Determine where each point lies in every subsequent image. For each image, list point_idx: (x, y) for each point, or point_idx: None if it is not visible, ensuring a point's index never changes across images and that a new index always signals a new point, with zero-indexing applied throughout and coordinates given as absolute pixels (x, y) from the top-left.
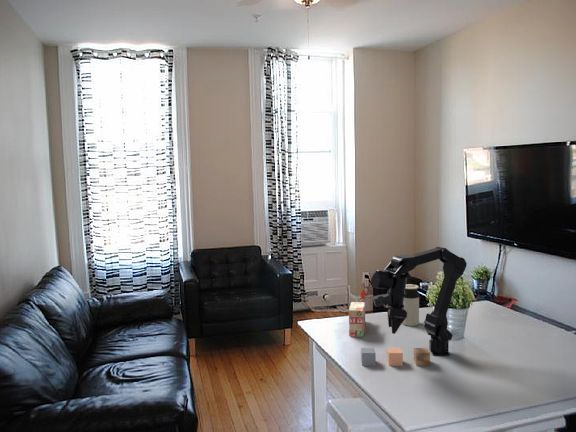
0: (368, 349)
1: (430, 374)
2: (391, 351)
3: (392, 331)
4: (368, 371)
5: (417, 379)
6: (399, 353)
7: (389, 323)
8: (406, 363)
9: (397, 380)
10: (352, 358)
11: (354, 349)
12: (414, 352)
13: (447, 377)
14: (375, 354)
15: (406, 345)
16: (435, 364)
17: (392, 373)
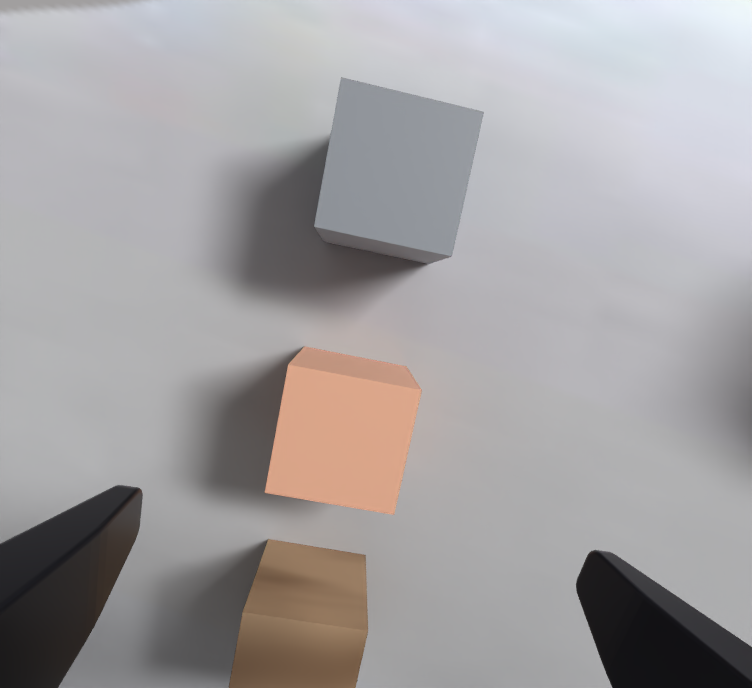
0: (423, 182)
1: None
2: (321, 401)
3: (83, 508)
4: (225, 147)
5: (36, 465)
6: (271, 461)
7: (628, 604)
8: None
9: (34, 318)
10: (504, 92)
11: (683, 169)
12: (331, 603)
13: None
14: (316, 228)
15: None
16: None
17: (161, 323)
